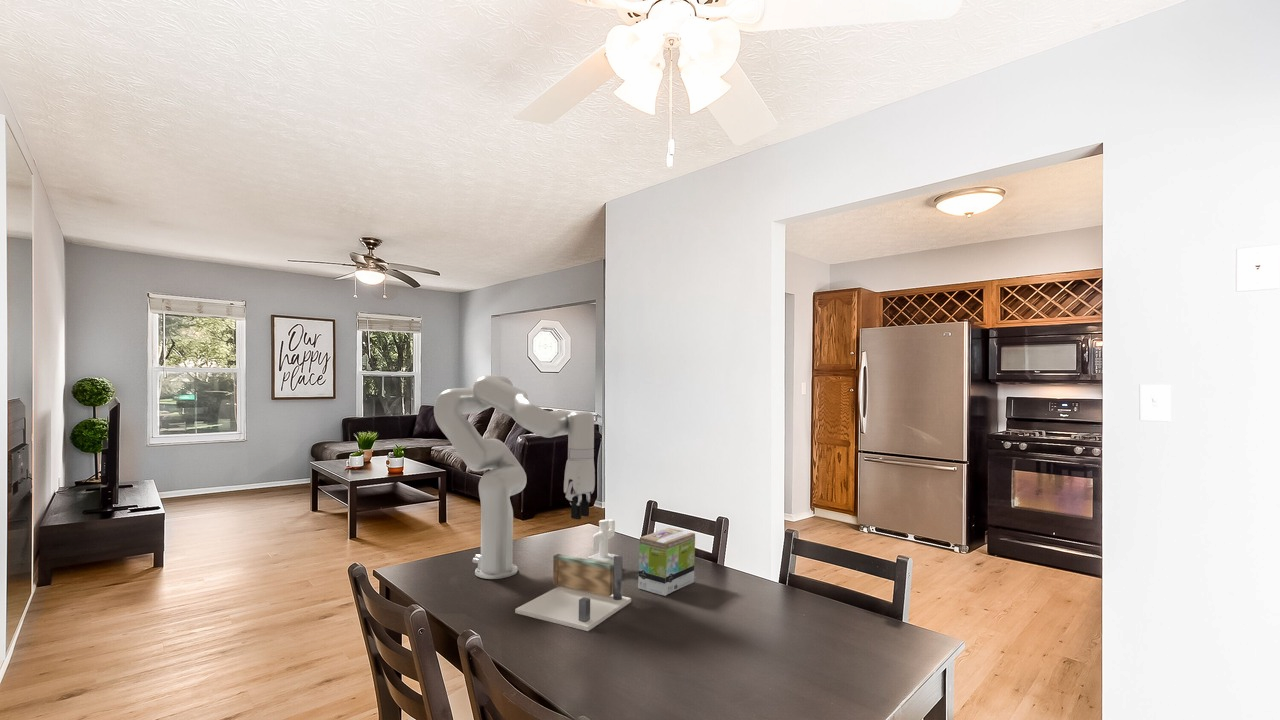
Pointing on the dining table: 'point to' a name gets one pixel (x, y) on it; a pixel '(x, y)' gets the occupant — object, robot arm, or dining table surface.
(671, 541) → the tea box
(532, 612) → the board
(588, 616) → the hinge post
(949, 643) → the dining table surface
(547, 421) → the robot arm
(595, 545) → the figurine
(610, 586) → the gate
